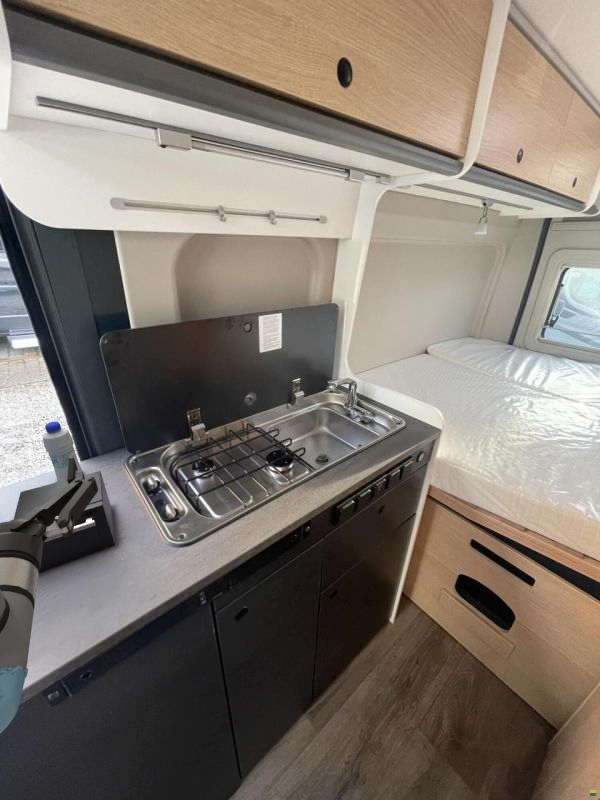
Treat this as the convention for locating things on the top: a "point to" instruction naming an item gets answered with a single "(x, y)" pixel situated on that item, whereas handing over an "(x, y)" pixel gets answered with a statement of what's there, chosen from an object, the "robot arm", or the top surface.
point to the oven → (45, 493)
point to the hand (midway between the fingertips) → (24, 476)
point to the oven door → (79, 539)
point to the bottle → (59, 449)
